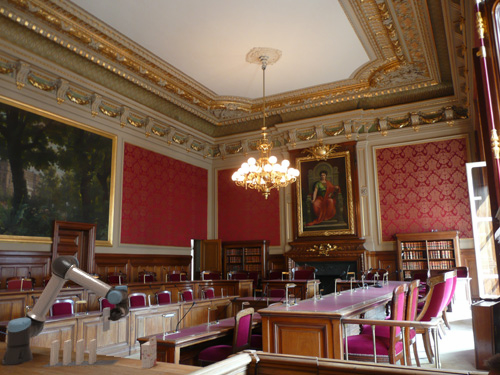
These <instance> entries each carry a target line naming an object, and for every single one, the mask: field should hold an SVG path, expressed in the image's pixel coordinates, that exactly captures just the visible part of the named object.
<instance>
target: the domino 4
mask: <svg viewBox="0 0 500 375" xmlns="http://www.w3.org/2000/svg"><path fill="white" fill-rule="evenodd" d="M97 340H98V339H97V338H93V339H91V340H89V346H88V347H89V348H88V352H89V353H88V361H89V364H93V363H95V362H96V361H97V349H98V348H97V345H98V344H97Z"/></svg>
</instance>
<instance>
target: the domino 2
mask: <svg viewBox="0 0 500 375" xmlns="http://www.w3.org/2000/svg"><path fill="white" fill-rule="evenodd" d="M72 341H73V340H72V339H67V340H65V341H63V350H62V351H63V352H62V353H63V354H62V355H63V356H62V362H63V365H67V364H69V363H71V361H72V344H73V342H72Z"/></svg>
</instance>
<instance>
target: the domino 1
mask: <svg viewBox="0 0 500 375" xmlns="http://www.w3.org/2000/svg"><path fill="white" fill-rule="evenodd" d="M59 352H60V340H58V339H55V340H53V341H51V342H50V352H49V353H50V355H49V356H50V358H49V363H50V366H53V365H55V364H57V363H58V362H59Z"/></svg>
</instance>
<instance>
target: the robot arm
mask: <svg viewBox="0 0 500 375" xmlns="http://www.w3.org/2000/svg"><path fill="white" fill-rule="evenodd" d="M79 267H80V262H79V259H77V258H76V257H75V256H74V255H59V256H56V257H55V258H54V259H53V260H52V262H51V265H50V268H51V278H50V279H49V281H48V283H47V284H46V286H45V288H44V290H43V291H42V292H41V294H40V296H39V298H38V300H37V301H36V302H35V304H34V306H33V308H32V310H30V311H27V313H26V315H25V316H24V317H19V318H15V319H11V320H10V321H9V322H8V323H7V324H8V325H7V338H6V348H5V352H4V354H3V357H2V362H1V363H2V365H5V366H10V365H11V366H13V365H21V364H24V363H28V362H30V361H32V360H33V353H32V350H31V349H32V348H31V345H30V344H31V339H32V338H35V337H37V336H39V334H40V333H42V332H43V330H44V327H45V322H46V320H47V319H46V316H47V315H48V314H47V313H49V310H50V309H51V307H52V305H53V303H54V302H55V300H56V298H57V297H58V295H59V293H60V292H61V290H62V288H63V287H64V285H65V284H66V282H68V281H70V280H71V281H73V283H76V284H78V285H80V286H81V287H83V288H84V289H87V290H89V291H90V292H92V293H94V294H96V295H98V296H99V297H101V298H104V299H105V300H107V301H108V303H109V304H111V305H114V307H113V308H110V315H108V316H106V317H105V319H104V322H107V321H109V320H110V321H112V322H116V321H117V322H118V321H119V320H121V319H123V318H125V317H127V316H128V315H129V313H130V306H129V305H128V302H129V301H128V292H129V290H128V285H117V286H115V287H113V286H111V285H109V284H108V283H105V282H104V281H102V280H100V279H98V278H96V277H95V276H93V275H91V274H90V273H87V272H85V270H84V271H83V269H80V268H79ZM99 323H103V312H102V313H101V314H100V315H99Z"/></svg>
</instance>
